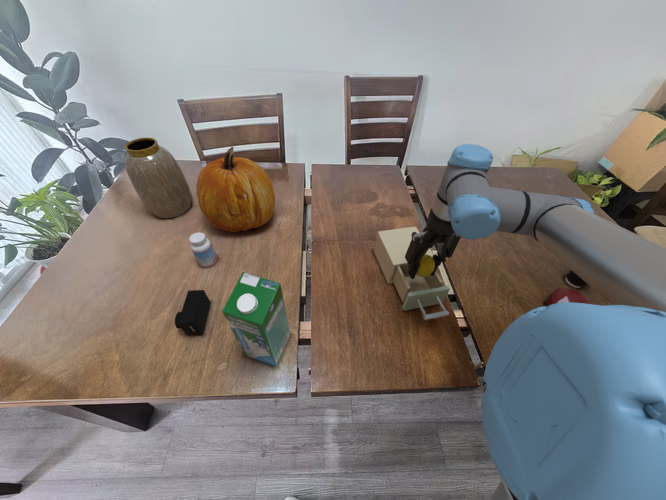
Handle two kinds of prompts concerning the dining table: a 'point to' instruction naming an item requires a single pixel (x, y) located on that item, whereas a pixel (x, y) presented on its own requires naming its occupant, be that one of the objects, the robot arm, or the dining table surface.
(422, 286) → the drawer
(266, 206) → the pumpkin
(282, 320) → the milk carton
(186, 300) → the digital camera
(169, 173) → the vase
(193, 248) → the pill bottle
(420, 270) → the lemon
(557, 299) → the heart
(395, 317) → the dining table surface
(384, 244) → the cabinet
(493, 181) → the dining table surface
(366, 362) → the dining table surface
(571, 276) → the dixie cup
